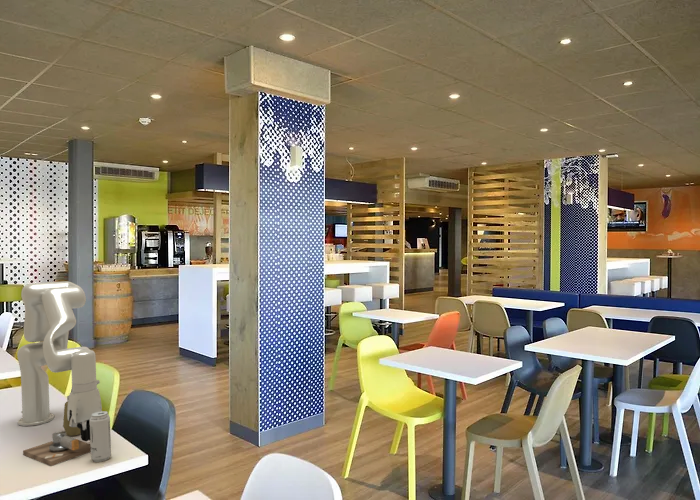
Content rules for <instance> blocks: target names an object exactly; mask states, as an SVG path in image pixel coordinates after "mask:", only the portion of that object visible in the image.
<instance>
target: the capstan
mask: <svg viewBox="0 0 700 500" xmlns="http://www.w3.org/2000/svg"><path fill="white" fill-rule="evenodd" d="M51 438H52V439H51V440H52V441H53V444H52V445H50V446H49V451H51V452H59V451H64V450H67V449H71V450H77V449H79V439H78V438H73V437H71V436H68V435H67V434H66V432H65V430H64V431H55V432H54V433H52V437H51Z"/></svg>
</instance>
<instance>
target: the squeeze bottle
mask: <svg viewBox="0 0 700 500" xmlns="http://www.w3.org/2000/svg"><path fill="white" fill-rule="evenodd" d="M70 389H71V390H70V393H71V392H72V388H70ZM66 398H67V399H66V400H67V401H66V402H64V408H63V421H62V427H63V429H64V432H66V436H68V437H71V436H72V437H74V436H78V435H81V432H80V429H79V428H78V427H70V426H69V424H70V421H68V419H67V409H68V399H69V395H67V396H66ZM85 423H86V421H85Z"/></svg>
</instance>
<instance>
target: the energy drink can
mask: <svg viewBox="0 0 700 500" xmlns="http://www.w3.org/2000/svg"><path fill="white" fill-rule="evenodd" d="M108 413H109V412H108V411H106V410H105V411H103V410H102V411H100V412H95V413H93V414H92V417H91V418H90V440H89V441H90V443H89V444H90V446H91V452H90V458H91V460H92V461H93V462H95V463H101V462H105V461H107V460H109V459H110V457H111V456H112V440H111V438H112V437H111V436H112V435H111V418H110V415H109V414H108Z"/></svg>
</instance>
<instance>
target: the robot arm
mask: <svg viewBox="0 0 700 500" xmlns="http://www.w3.org/2000/svg"><path fill="white" fill-rule="evenodd" d="M21 299H22V303H23V306H24V322H23V336H24V337H23V338H24V339H25V341H26V342H29V343H27V344H24V345H22V346H20V348H18V350H17V353H16V354H17V356H16V358H17V361H18V365H19V371H20V383H21V384H20V385H21V386H20V387H21V389H20V390H21V408H22V409H21V411H20V413H21V415H22V418H20V419H18V420H17V424H18V425H19V426H21V427H32V426H33V427H34V426H38V425H43V424H45V423H48V422H51V421H53V420H54V419H55V415H54V414H53V413H51V412H50V408H51V407H50V385H49V384H50V383H49V375H48V373H47V372H46V371H45V370H44V369H43V368H42V366H47V369H49V370H50V372H51V373H62V372H67V371H71V389H72V392H71V391H70V392H69V395H68V396H69V399H68V409H67V419H68V421H70V424H69V426H70V427H78V428H79V429H80V432H81V434H80V439H81V441H83V442H88V441H90V418H91V417H92V414H93V413H95V412H100V411H103V410H102V399H101V394H100V390H99V388H98V385H99V384H100V383H101V382H100V380H99V379H97V361H96V360H97V359H96V353H95V351H94V350H93V349H90V348H89V347H87V346H77V347H69V348H68V346H69V345H68V343H69V335H70V334H69V332H70V331H71V330H72V329H73V328H74V327H75V326H76V325H77V318H76V316H75V314H74V310H73V309H80V308H83V307H84V306H85V304H86V300H87V297H86V293H85V291H84V289H83V288H82V287H81V286H80V285H78V284H76V283H74V282H71V281H68V280H67V281H51V282H46V281H45V282H36V283H29V284H26V285H24V286H23V287H22V289H21ZM85 421H86V423H85Z"/></svg>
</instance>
